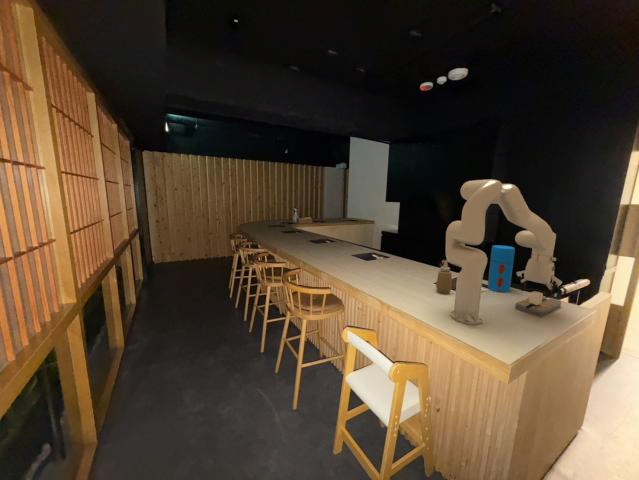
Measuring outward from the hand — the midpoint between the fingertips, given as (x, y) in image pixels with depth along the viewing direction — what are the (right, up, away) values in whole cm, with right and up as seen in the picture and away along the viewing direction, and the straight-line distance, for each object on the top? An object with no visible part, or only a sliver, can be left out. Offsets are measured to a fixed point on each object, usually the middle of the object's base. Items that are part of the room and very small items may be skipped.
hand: (535, 293), depth 126 cm
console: (+4, -8, +4) cm, 9 cm away
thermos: (+2, -4, +29) cm, 29 cm away
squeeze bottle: (-32, -4, +24) cm, 40 cm away
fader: (+1, -6, +1) cm, 6 cm away
